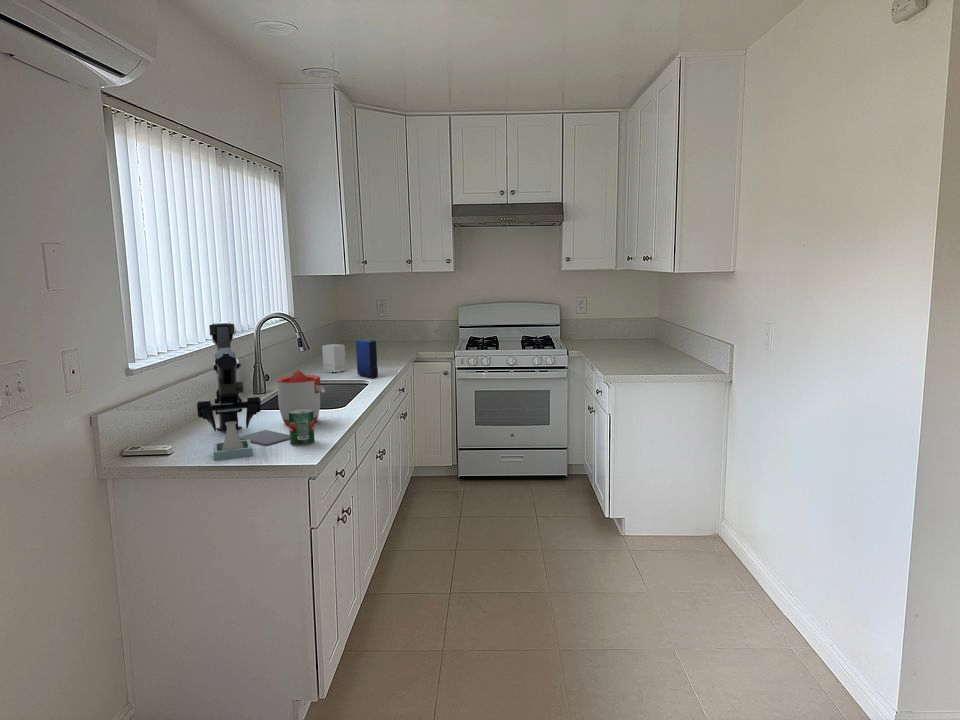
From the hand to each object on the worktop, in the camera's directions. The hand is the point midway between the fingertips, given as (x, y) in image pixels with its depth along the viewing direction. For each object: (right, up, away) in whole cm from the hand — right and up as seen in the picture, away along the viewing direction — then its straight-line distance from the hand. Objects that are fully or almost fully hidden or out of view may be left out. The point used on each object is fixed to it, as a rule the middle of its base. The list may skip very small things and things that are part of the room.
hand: (231, 429), depth 200 cm
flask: (0, -8, +2) cm, 8 cm away
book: (+18, +12, +139) cm, 141 cm away
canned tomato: (+19, -6, +13) cm, 24 cm away
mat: (+4, -5, +19) cm, 20 cm away
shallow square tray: (0, -8, +2) cm, 8 cm away
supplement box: (-3, +15, +157) cm, 158 cm away
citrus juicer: (+11, -2, +41) cm, 42 cm away
